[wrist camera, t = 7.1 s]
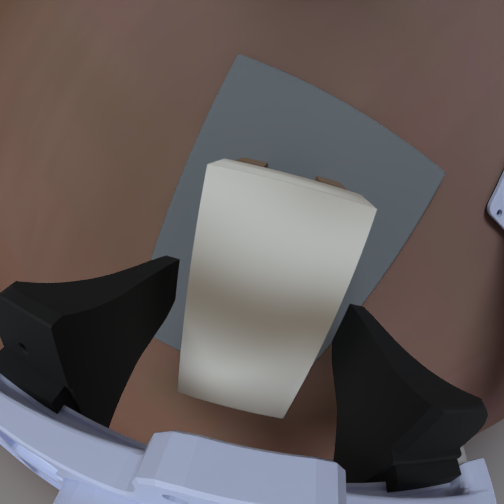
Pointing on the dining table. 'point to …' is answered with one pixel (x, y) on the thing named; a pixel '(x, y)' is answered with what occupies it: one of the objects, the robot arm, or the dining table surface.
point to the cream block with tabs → (265, 282)
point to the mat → (300, 171)
